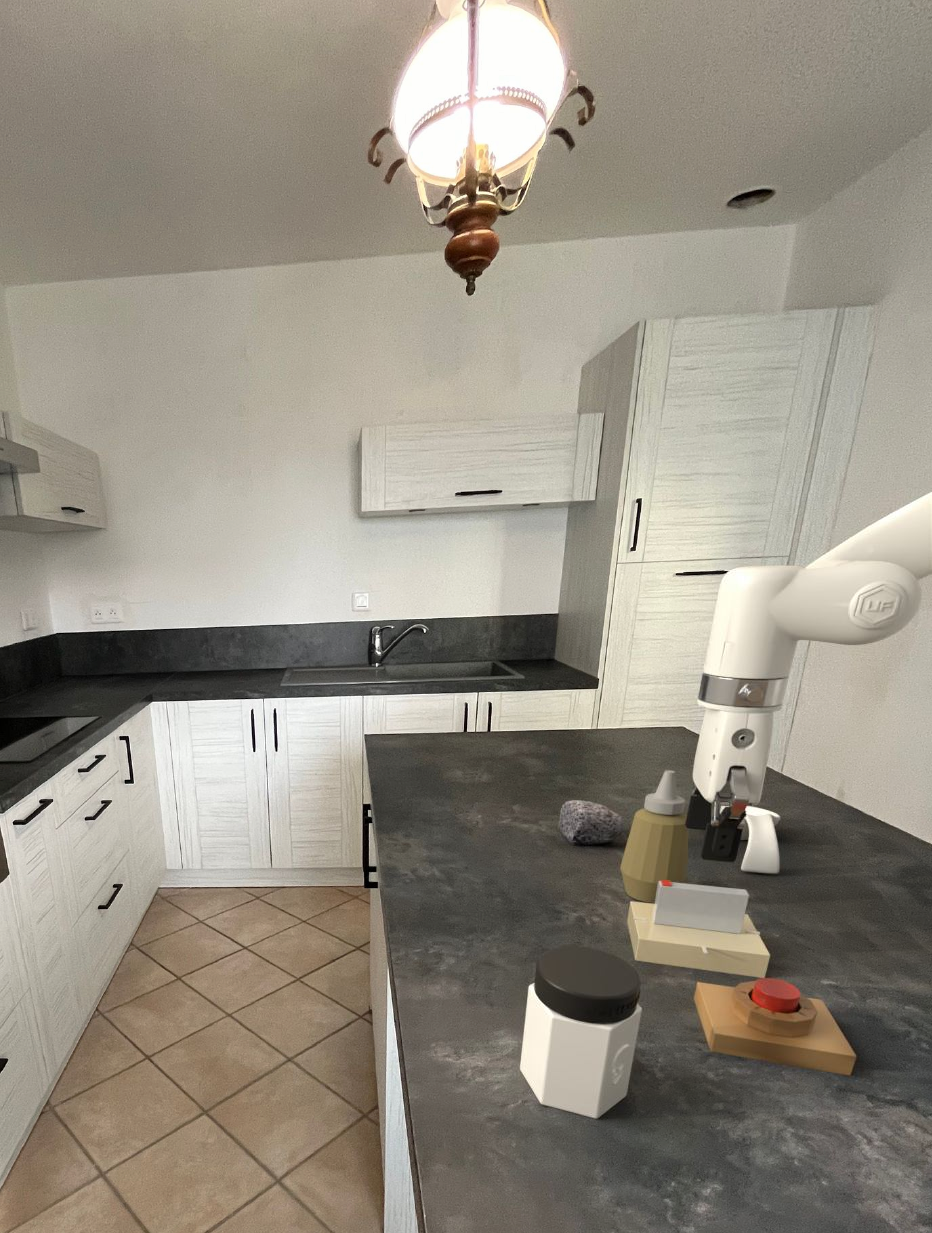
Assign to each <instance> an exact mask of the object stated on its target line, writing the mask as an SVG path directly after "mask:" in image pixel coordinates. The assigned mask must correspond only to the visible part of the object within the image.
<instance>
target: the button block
mask: <svg viewBox="0 0 932 1233" xmlns="http://www.w3.org/2000/svg"><path fill="white" fill-rule="evenodd" d="M755 982H756V980H751V981H744V982H739V983H738V984H737V985H736V986H729V985H722V984H715V983H707V982H701V981H697V982H696V987H695V991H694V996H693V1001H694V1004H695V1007H696V1010H697V1013H698V1016H699V1019H700V1023H701V1025H702V1029H703V1032H704V1035H705V1039H706V1041H707V1044H708V1047H709V1050H710V1052H711V1053H716V1054H723V1055H729V1056H735V1057H739V1058H740V1057H741V1058H746V1059H752V1060H757V1061H764V1062H768V1063H769V1062H770V1063H775V1064H781V1065H787V1066H793V1067H798V1068H802V1069H803V1068H805V1069H810V1070H816V1071H822V1072H827V1073H833V1074H839V1075H845V1076H851V1075H852V1072H853V1069H854V1066H855V1063H856V1060H857V1055H856V1052H855V1051H854V1050H853V1048H852V1046H851V1045H850V1043H849V1041H848V1040H847V1038H846V1036H845V1035H844V1033H843V1031H842V1030H841V1028H840V1027H839V1025H838V1023H837V1022H836V1020H835V1019H834V1017H833V1015H832V1014H831V1012H830V1011H829V1008H828V1007H827V1005H826V1004H825V1002H824V1001H823V999H819V998H813V997H812V998H811V997H806V996H805V995H803V994H801V995H800V999H799V1003H798V1006H797V1010H796V1012H795V1013H790V1014H785V1013H778V1012H773V1011H770V1010H767V1009H765V1008H762V1007H760V1006H758V1005H757V1004H756V1003H754V1002H753V1001H752V999H751V997H752V993H753V989H754V985H755Z"/></svg>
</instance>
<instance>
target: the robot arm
mask: <svg viewBox="0 0 932 1233" xmlns="http://www.w3.org/2000/svg"><path fill="white" fill-rule="evenodd" d="M930 575H932V491H931V492H929V493H927V494H925V495H924V496H921V497H919V498H917V499H915V500H913V501H911V502H910V503H908V504H906V505H904V506H902V507H900V508H899V509H897V510H895V511H893V512H891V513H890V514H888V515H886V516H884V517H882V518H881V519H879V520H877V521H875V522H874V523H872V524H870V525H868V526H867V527H865V528H864V529H862V530H860V531H859V532H857V533H856V534H854V535H852V536H851V537H849V538H847V539H846V540H844V542H841V543H840V544H839V545H837V546H835V547H834V548H832V549H830V550H828V552H826V553H824V554H823V555H822V556H820V557H818V558H817V559H815V560H813V561H812V562H811V563H809V564H808V565H806V566H805V567H803V566H801V565H794V564H793V565H785V564H783V565H782V564H778V565H777V564H776V565H775V564H774V565H769V564H768V565H749V566H747V565H746V566H739V567H734V568H732V569H730V570H728V571H727V572H726V573H725V574H724V575H723V577H722V578H721V581H720V583H719V588H718V593H717V597H716V602H715V607H714V613H713V618H712V624H711V629H710V634H709V639H708V643H707V644H708V645H707V649H706V654H705V658H704V663H703V664H704V665H703V669H702V675H701V680H700V685H699V691H698V696H697V702H696V705H697V706H699V707H703V708H704V709H705V712H704V715H703V720H702V724H701V728H700V732H699V737H698V740H697V744H696V745H697V746H696V751H695V757H694V762H693V768H692V781H693V782H694V784H693V786H692V790H691V795H690V797H689V803H688V808H687V811H686V812H687V813H686V816H687V817H686V822H685V826H686V827H687V828H689V830H703V831H705V832H704V837H703V841H702V846H701V850H700V858H701V859H702V860H704V861H713V862H725V863H734V862H735V861H736V860H737V857H738V852H739V848H740V844H741V841H742V840H741V835H742V831H743V827H744V823H745V817H746V815H747V814H746V811H745V809H746V807H747V806H751V807H756V806H757V805H758V804H760V802H761V798H762V794H763V788H764V782H765V778H766V772H767V766H768V762H769V757H770V756H769V755H770V749H771V743H772V735H773V729H774V728H773V727H774V713H775V712H779V711H781V710H782V707H783V703H784V699H785V696H786V691H787V686H788V682H789V678H790V674H791V671H792V670H791V669H792V665H793V662H794V658H795V653H796V650H797V645H798V642H799V641H812V642H819V643H829V644H836V645H844V646H861V645H862V646H863V645H868V644H869V645H870V644H874V643H877V642H880V641H883V640H885V639H888V638H890V637H892V636H894V635H896V634H897V633H899V632H900V631H902V630H903V629H904V628H905V627H906V626H908V625H909V624H910V622H911V621H912V620H913V619H914V618H915V616H916V615H917V613H918V611H919V610H920V606H921V604H922V603H921V602H922V594H923V593H922V588H921V584H920V583H919V581H920V580H921V579H924V578H927V577H929V576H930ZM721 806H729V807H725V808H724V809H723V811H722V812H721V814H720V809H721Z"/></svg>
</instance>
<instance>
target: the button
mask: <svg viewBox="0 0 932 1233" xmlns="http://www.w3.org/2000/svg"><path fill="white" fill-rule="evenodd" d="M755 981H756V982H755V985H754V989H753V993H752V997H751V999H752V1001H753V1002H754V1003H756V1004H757V1005H758V1006H760V1007H762V1008H765V1009H767V1010H770V1011H773V1012H778V1013H785V1014H790V1013H795V1012H796V1010H797V1006H798V1003H799V999H800V995H802V994H801V991H800V990H799V989H798V988H797V987H796V986H795V985H793V984H791V983H789V982H787V981H785V980H782V979H778V978H771V977H765V978H758V979H756V980H755Z"/></svg>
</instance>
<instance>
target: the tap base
mask: <svg viewBox="0 0 932 1233" xmlns="http://www.w3.org/2000/svg"><path fill="white" fill-rule="evenodd" d="M654 904H655V903H648V902H643V901H632V900H631V901H629V908H628V912H627V918H626V923H627V928H628V932H629V937H630V942H631V947H632V951H633V956H634V960H635V961H637V962H644V963H651V964H652V963H653V964H659V965H666V966H673V967H679V968H680V967H681V968H688V969H693V970H694V969H695V970H702V971H710V972H715V973H724V974H731V975H738V976H746V977H754V978H758V979H761V978H766V974H767V970H768V968H769V963H770V958H771V953H770V952H769V950H768V949H767V947H766V944H765V943H764V941H763V940H762V937H761V936H760V935H761V932H760V931H758V930H757V929H756V927H755V925H754V923H753V921H752V919H751V917H750V916H749V914H747V913H745V916H744V920H743V924H742V929H741V933H740V934H737V933H729V932H721V931H712V930H704V929H696V928H688V927H679V926H671V925H663V924H654V922H653V919H652V915H653V909H654Z"/></svg>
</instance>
